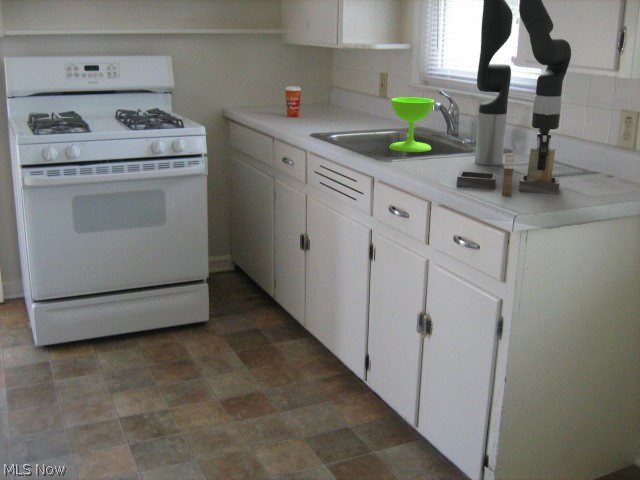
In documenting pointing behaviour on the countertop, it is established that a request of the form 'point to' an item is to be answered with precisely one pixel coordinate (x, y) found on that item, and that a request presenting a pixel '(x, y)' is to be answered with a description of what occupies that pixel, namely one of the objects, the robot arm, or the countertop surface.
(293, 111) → the paper cup
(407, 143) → the wineglass
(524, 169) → the countertop surface
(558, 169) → the countertop surface
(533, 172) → the skincare box
